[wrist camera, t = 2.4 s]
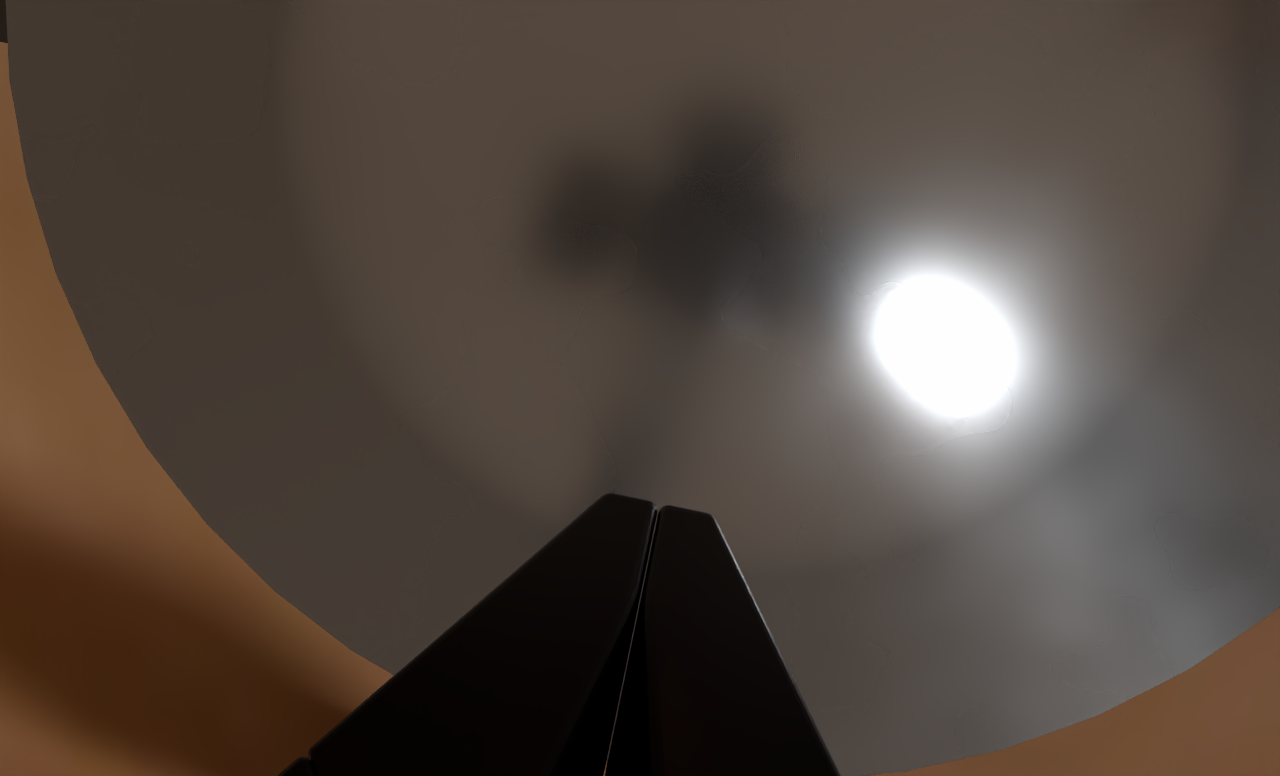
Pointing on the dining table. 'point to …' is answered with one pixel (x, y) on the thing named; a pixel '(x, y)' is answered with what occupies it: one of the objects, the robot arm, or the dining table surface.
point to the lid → (705, 314)
